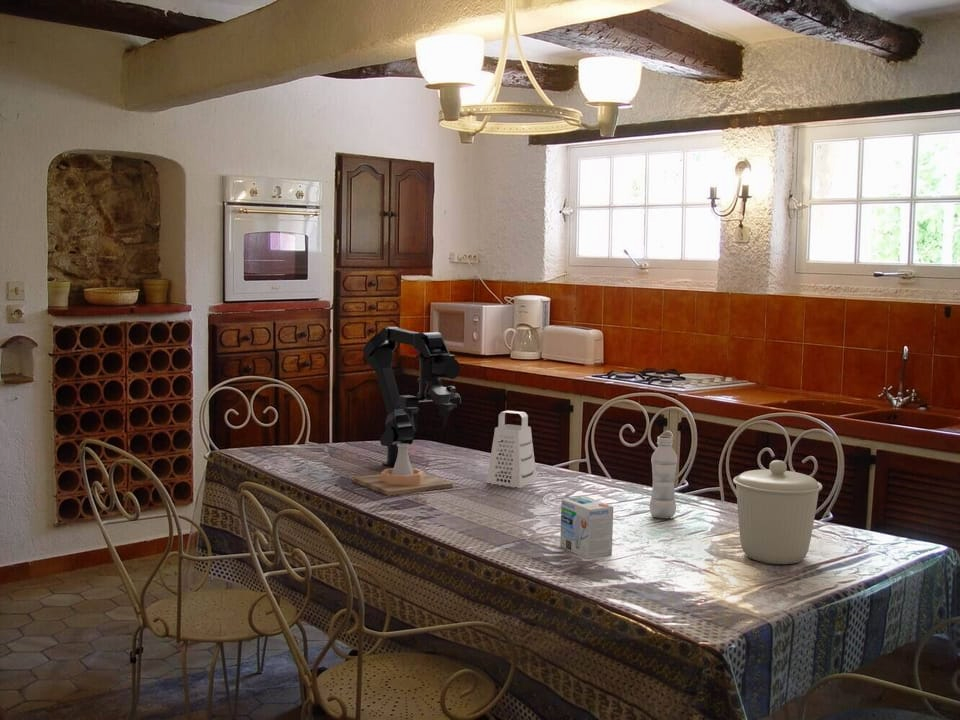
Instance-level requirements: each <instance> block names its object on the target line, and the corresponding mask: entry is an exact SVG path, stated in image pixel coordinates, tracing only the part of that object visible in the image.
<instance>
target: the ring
mask: <svg viewBox="0 0 960 720" xmlns="http://www.w3.org/2000/svg"><path fill="white" fill-rule="evenodd" d="M393 468H394V467H390V468H385V469H383V470H382V471H381V472H380V474H381V481H383V482H385V483H388V484H397V485H409V484H417V483H421V482H422V481H423V480H424V473H425V471H424V470H422V469H419V468H415V467H412V470H413V473H414V474H413V475H391V474H392V471H393Z"/></svg>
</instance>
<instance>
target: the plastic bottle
mask: <svg viewBox="0 0 960 720" xmlns="http://www.w3.org/2000/svg"><path fill="white" fill-rule="evenodd" d="M656 444H657V447H656V448H655V450H654V452H653V453H652V454H651V459H650V460H651V467H652V468H651V470H652V471H651V472H652V488H651V498H650V501H649V505H648V506H649V507H648V508H649V512H650V515H651V516H652V517H654V518H658V519H672V518H673V517H674V516H675V515H676V509H677V503H676V499H675V497H676V496H675V494H676V493H675V483H676V482H675V480H676V473H677V472H676V471H677V466H678V460H679V458H678V455H677V453H676V452H675V450H674V448H673V445H674V442H673V437H672V436H670V435H669V436H668V435H660V436H657V442H656Z"/></svg>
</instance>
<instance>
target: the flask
mask: <svg viewBox="0 0 960 720" xmlns="http://www.w3.org/2000/svg"><path fill="white" fill-rule="evenodd" d="M409 446H410V444H397V447H398V455H397V460H396V463H395V466H394V467H392V468H393V471H392V474H391V475H413V474H414V473H413V470H412V468H413V467H412V463H411V461H410V458H409V451H408V449H409Z"/></svg>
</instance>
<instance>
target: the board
mask: <svg viewBox="0 0 960 720" xmlns="http://www.w3.org/2000/svg"><path fill="white" fill-rule="evenodd" d="M352 479H353V480H352V482H353V483H356V484H358V485H360V486H362V487H365V486H366V488H367V489H370V488H371V489H370V490H373V491H375V490H376V492H378V493H380V492H381V493H380V494H383V495H385V494H386V495H385V496H387V497H391V496H390V495H393V496H398V495H397V494H400V495H404V494H403V493H407V494H412V493H411V492H415V493H420V492H419V491H422V492H427V491H426V490H430V491H434V490H433V489H437V490H441V489H440V488H445V489H449V488H448V487H452V488H453V482H450V481H447V480H444V479H442V478H439V477H436V476H434V475H430V474H428V473H425V472H424V480H423V481H422V482H421V483H417V484H409V485H397V484H388V483H385V482H383V481H381V473H380V474H371V475H363V476H355V477H353V478H352Z"/></svg>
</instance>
